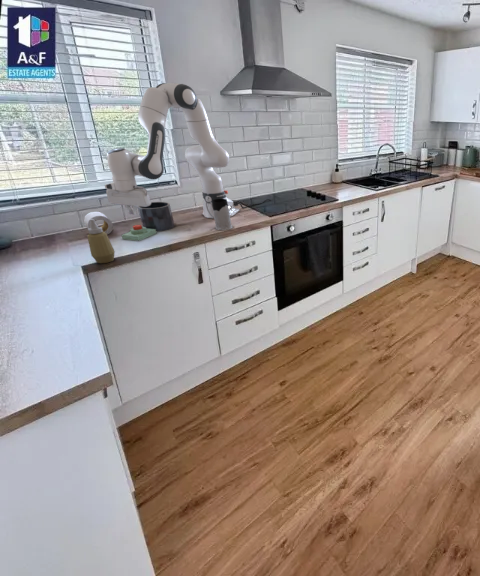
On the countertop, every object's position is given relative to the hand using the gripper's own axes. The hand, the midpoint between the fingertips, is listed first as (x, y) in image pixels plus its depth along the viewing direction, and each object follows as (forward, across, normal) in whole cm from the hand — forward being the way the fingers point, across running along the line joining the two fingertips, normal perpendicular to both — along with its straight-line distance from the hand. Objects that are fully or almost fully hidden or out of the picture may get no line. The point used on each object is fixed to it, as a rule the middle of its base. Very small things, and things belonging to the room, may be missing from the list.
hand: (133, 214), depth 179 cm
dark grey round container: (+11, +1, -15) cm, 19 cm away
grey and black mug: (+11, -29, -24) cm, 40 cm away
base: (+11, 0, 0) cm, 11 cm away
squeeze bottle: (+12, -10, +31) cm, 34 cm away
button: (+8, 0, 0) cm, 8 cm away
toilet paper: (+12, +21, 0) cm, 24 cm away
